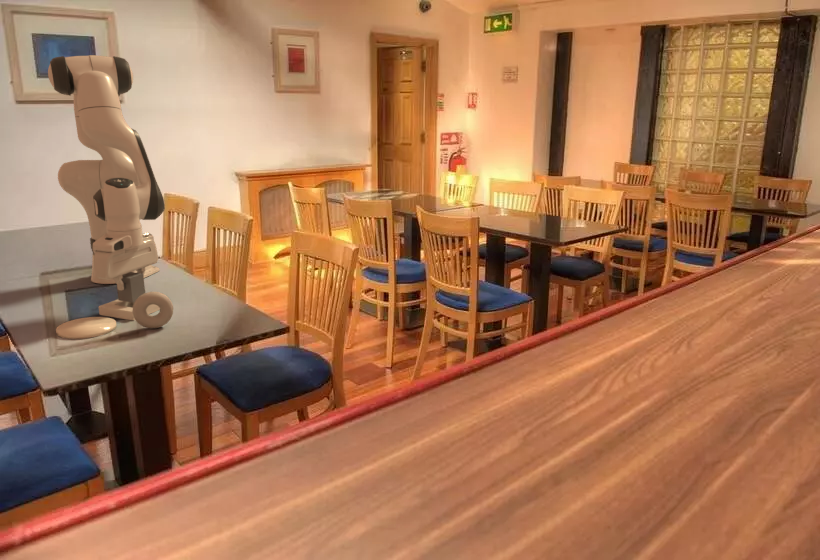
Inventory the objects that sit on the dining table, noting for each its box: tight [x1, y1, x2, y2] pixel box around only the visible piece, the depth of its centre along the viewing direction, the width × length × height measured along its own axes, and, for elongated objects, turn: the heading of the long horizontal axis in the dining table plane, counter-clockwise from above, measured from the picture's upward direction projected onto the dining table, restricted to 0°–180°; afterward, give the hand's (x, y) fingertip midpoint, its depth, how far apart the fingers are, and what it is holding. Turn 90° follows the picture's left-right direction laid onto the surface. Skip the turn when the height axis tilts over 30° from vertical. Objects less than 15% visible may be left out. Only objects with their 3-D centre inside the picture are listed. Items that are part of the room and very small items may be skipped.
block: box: [116, 272, 146, 303], centre depth 178 cm, size 5×5×7 cm
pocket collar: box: [98, 298, 160, 321], centre depth 180 cm, size 12×12×2 cm
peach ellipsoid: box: [55, 316, 117, 340], centre depth 165 cm, size 14×14×1 cm
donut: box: [132, 291, 174, 329], centre depth 166 cm, size 10×3×10 cm, turn 114°
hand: (130, 286), depth 178 cm, fingers closed on block, 5 cm apart
